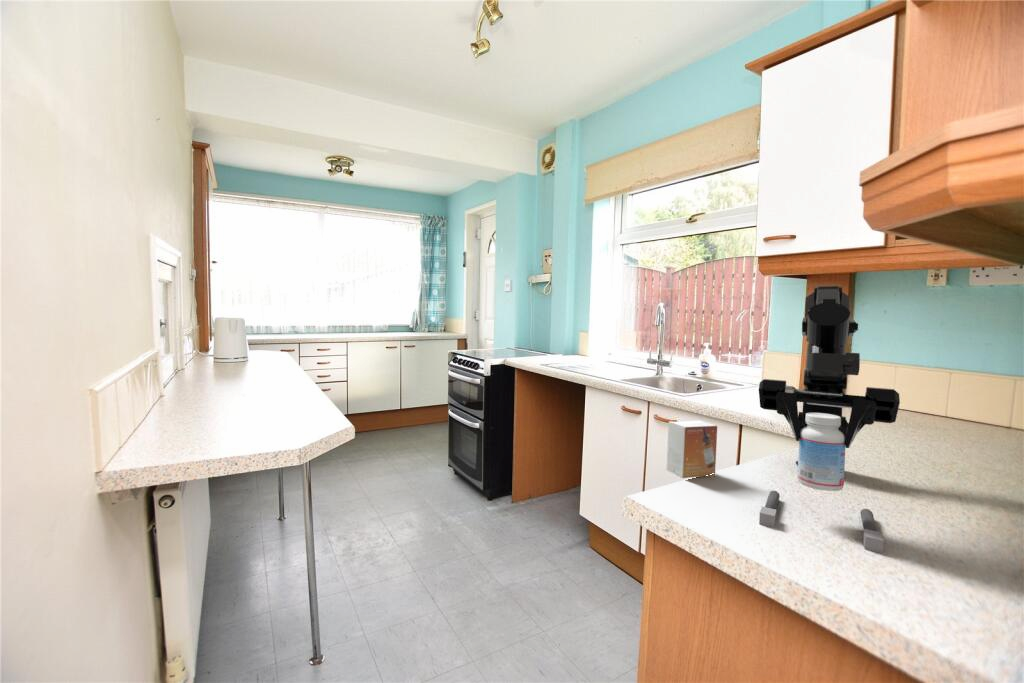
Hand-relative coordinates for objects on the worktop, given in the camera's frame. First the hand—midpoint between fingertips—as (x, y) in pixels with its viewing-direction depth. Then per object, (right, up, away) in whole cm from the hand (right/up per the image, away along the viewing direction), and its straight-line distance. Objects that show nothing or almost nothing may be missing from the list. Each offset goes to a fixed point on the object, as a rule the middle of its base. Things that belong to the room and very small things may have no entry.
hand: (821, 442), depth 71 cm
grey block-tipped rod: (-5, -12, +5) cm, 14 cm away
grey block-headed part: (+5, -13, -3) cm, 14 cm away
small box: (-11, -12, +23) cm, 29 cm away
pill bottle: (+1, -7, +1) cm, 7 cm away
